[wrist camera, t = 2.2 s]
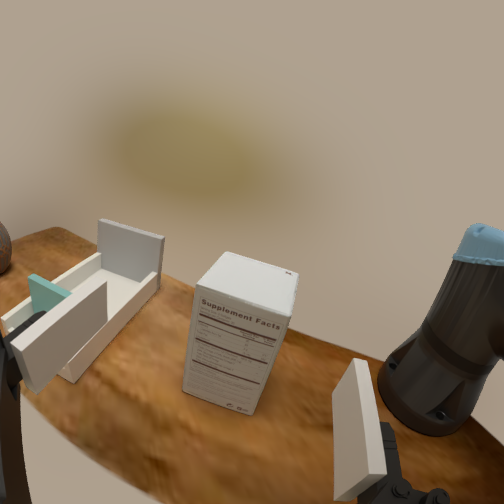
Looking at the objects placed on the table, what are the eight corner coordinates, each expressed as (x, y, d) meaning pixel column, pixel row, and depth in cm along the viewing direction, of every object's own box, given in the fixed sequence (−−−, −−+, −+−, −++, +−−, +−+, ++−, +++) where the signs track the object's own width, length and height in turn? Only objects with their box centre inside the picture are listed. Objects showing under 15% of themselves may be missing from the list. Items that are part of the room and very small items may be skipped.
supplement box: (205, 348, 32) (225, 248, 27) (267, 370, 31) (303, 272, 26) (178, 392, 25) (193, 281, 21) (252, 419, 24) (294, 315, 20)
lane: (73, 384, 22) (59, 319, 19) (7, 339, 23) (-10, 276, 20) (159, 287, 41) (165, 236, 38) (101, 266, 42) (102, 218, 39)
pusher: (87, 347, 26) (82, 305, 24) (35, 317, 26) (27, 277, 24) (92, 342, 27) (88, 300, 25) (40, 313, 27) (33, 273, 25)
